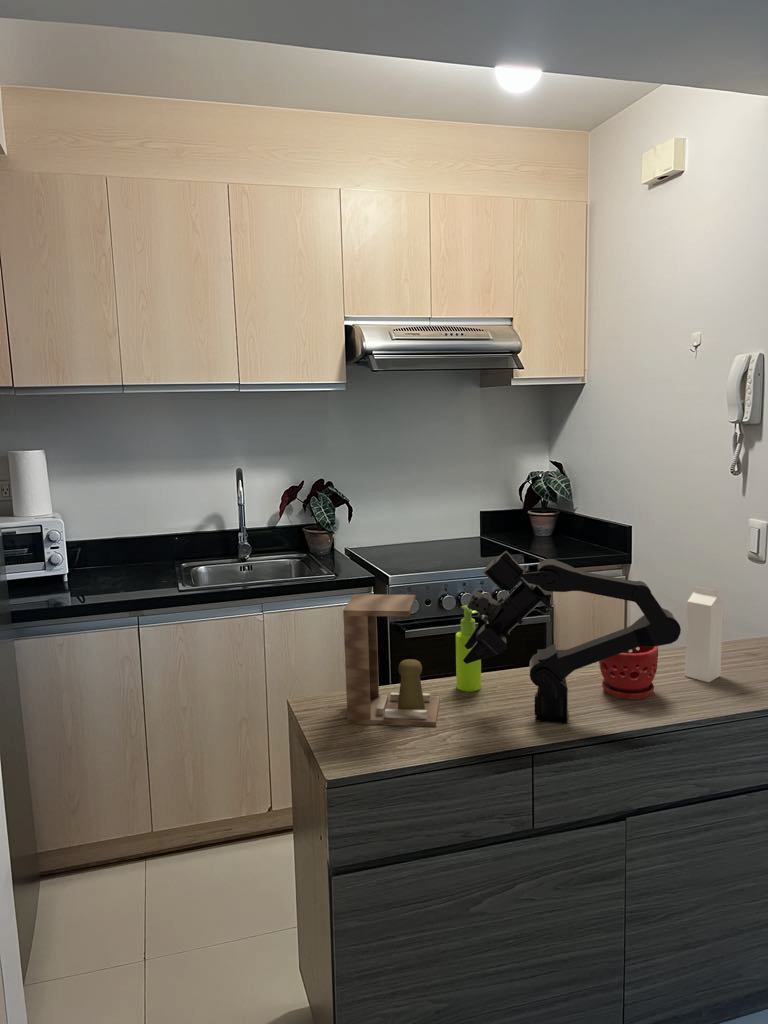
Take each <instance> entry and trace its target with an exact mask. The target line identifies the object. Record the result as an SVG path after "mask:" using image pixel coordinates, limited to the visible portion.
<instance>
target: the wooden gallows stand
mask: <svg viewBox="0 0 768 1024" xmlns="http://www.w3.org/2000/svg"><path fill="white" fill-rule="evenodd" d="M415 602H416V594H382V593H381V594H378V593H377V594H372V593H371V594H370V593H369V594H365V593H360V594H359V593H358V594H357V593H356V594H353V595H352V597H351V598H350V600H349V601H348V603H347V604H346V606H345V607H344V608H343V611H342V613H343V614H342V615H343V639H344V662H345V663H344V664H345V686H346V688H345V690H346V716H347V724H349V725H351V724H353V725H377V724H390V725H389V726H409V725H411V726H412V725H415V726H414V727H419V726H420V727H436V726H437V721H438V720H437V719H438V715H439V709H440V703H441V701H440V697H431V693H429V692H428V693H426V692H424V693H423V692H422V693H423V699H424V705H425V710H408V709H398V701H399V692H390V694H388V693H385V694H384V693H382V694H381V695H380V683H379V682H380V681H379V655H378V654H379V653H378V651H379V649H378V647H379V646H378V622H377V617H398V618H399V617H403V618H404V617H407V618H408V617H411V613H412V611H413V608H414V606H415V604H416V603H415ZM389 695H390V696H389ZM391 724H393V725H391Z"/></svg>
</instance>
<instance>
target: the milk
mask: <svg viewBox="0 0 768 1024" xmlns="http://www.w3.org/2000/svg"><path fill="white" fill-rule="evenodd" d="M686 604H687V605H686V632H685V633H686V634H685V635H686V636H685V637H686V638H685V658H684V659H685V663H684V666H685V667H684V676H685V677H687V678H690V679H695V680H698V681H702V682H705V683H710V682H712V681H714V680H715V679H717V678H719V677H721V668H722V644H723V642H722V641H723V618H724V615H723V613H724V600H723V599H722V598H721V597H719V591H718V590H717V589H712V588H707V587H701V586H696V585H694V587H693V592H692V593H691V595H690V596H689V598H688V600H687V603H686Z"/></svg>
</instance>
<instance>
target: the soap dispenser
mask: <svg viewBox="0 0 768 1024" xmlns="http://www.w3.org/2000/svg"><path fill="white" fill-rule="evenodd" d="M467 605H468V604H466V605H461V606H460V607H461V609H462V610H463V612H464V613H463V618H461V619H460V631H457V632H456V633H455V669H456V670H455V672H456V673H455V677H456V683H455V684H456V689H458V690H460V691H461V692H475V691H480V690H481V688H482V659H480V660H477V661H474V662H471V663H468V664H466V663H465V662H464V661H463V659H464V658H465V656H466V655H467V654H468V652H469V651H470V650H471V648H470V649H467V648H466V647H465V644H466V642H467V641H468V639H469V638H470V636H471V635H472V633H473V632H474V630H475V629H476V620H475V618H473V617H472V615H474V614H475V615H476V614H479V612H477V611H475V610H474V611H472V610H470V609H469V608H468V607H467Z"/></svg>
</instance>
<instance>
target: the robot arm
mask: <svg viewBox="0 0 768 1024" xmlns="http://www.w3.org/2000/svg"><path fill="white" fill-rule="evenodd" d="M482 574H483V575H484V576H486V577H487V578H488V580H489V581H491V583H493V584H494V585H495V587H497V589H499V590H500V591H501V592H502V591H505V592H510V591H511V592H510V593H509V594H508V595H507V596H506V597H505V596H503V597H500V598H498V600H496V599H494V597H493V598H492V597H491V596H489V595H487V594H485V593H483V592H481V591H478V590H475V589H474V590H473V591H472V593H471V595H470V597H469V599H468V601H467V604H466V605H467V607H468V608H469V609H470V610H472V611H474V610H475V611H477V612H479V613H477V626H475V630H474V632H473V633H472V635H471V636H470V638H469V639H468V641H467V642H466V644H465V647H466V648H467V649H470V648H471V650H470V651H469V652H468V654H467V655H466V656H465V658H464V659H463V661H464V662H465V663H466V664H468V663H471V662H474V661H477V660H480V659H481V660H483V659H486V658H491V657H494V656H495V657H497V656H502V654H504V653H505V652H506V651H507V638H508V637H509V636H510V632H511V630H513V629H514V628H515V627H516V626H517V625H522V624H523V623H524V619H525V618H526V617H527V616H528V615H529V614H530V613H531V612H532V611H533V610H534V609H536V607H537V606H539V604H541V603H543V604H544V606H546V607H547V608H548V609H550V608H551V598H552V593H551V592H553V593H556V592H557V593H566V592H583V593H588V594H591V595H592V594H594V595H598V596H603V597H607V598H608V597H609V598H613V599H619V600H624V601H628V602H634V603H635V604H636V606H638V608H639V610H640V611H641V612H642V614H643V615H642V616H640V617H639V618H638V619H637V620H636V621H635V622H633V623H632V624H631V625H630V626H628V627H625V628H623V629H622V628H621V629H619V630H617V631H614V632H611V633H609V634H606V635H603V636H600V637H598V638H595V639H592V640H590V641H586V642H584V643H582V644H581V643H580V644H579V645H575V646H574V647H571V648H568V649H557V646H556V644H552V645H549V646H548V647H545V648H542V649H537V653H535V654H533V655H532V656H531V658H530V660H529V678H530V681H531V682H532V683H533V685H535V686H536V687H537V692H535V693H534V715H535V716H536V718H535V720H536V722H541V723H545V722H546V723H553V724H554V723H555V724H568V723H569V722H568V721H569V709H568V705H569V701H568V699H569V697H568V695H569V694H568V692H569V691H568V690H569V688H568V683H567V682H568V681H567V677H568V676H570V674H572V673H573V672H574V671H576V670H578V669H581V668H585V667H587V666H590V665H592V664H596V663H599V661H601V660H604V659H607V658H609V657H612V656H615V655H618V654H620V653H623V652H626V651H629V652H630V651H632V649H634V648H636V649H637V648H639V647H656V646H658V647H661V646H666V645H672V644H673V643H675V642H677V641H678V640H679V637H680V635H681V631H682V630H681V625H680V623H679V622H678V620H677V619H676V618H675V616H674V614H673V613H672V612H671V611H670V610H668V609H665V608H662V606H661V604H660V603H659V602H658V601H657V599H656V597H655V596H654V595H653V593H652V591H651V589H650V587H649V586H648V584H647V583H645V582H644V581H642V580H632V579H631V580H629V579H626V578H620V577H615V576H610V575H605V574H600V573H593V572H588V571H584V570H580V569H577V568H575V567H573V566H572V565H569V564H568V563H564V562H562V561H559V560H556V559H554V558H544V559H543V560H542V561H540V562H539V563H535V564H528V565H521V564H520V563H518V562H517V561H516V560H515V559H514V558H513V556H512V555H511V553H509V552H508V551H507V550H505V551H503V553H502V554H500V555H498V556H497V557H496V558H493V559H492V560H491V561H490V562H489V563H488V564H487V566H486V567H485V568H484V569H483V571H482Z"/></svg>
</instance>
